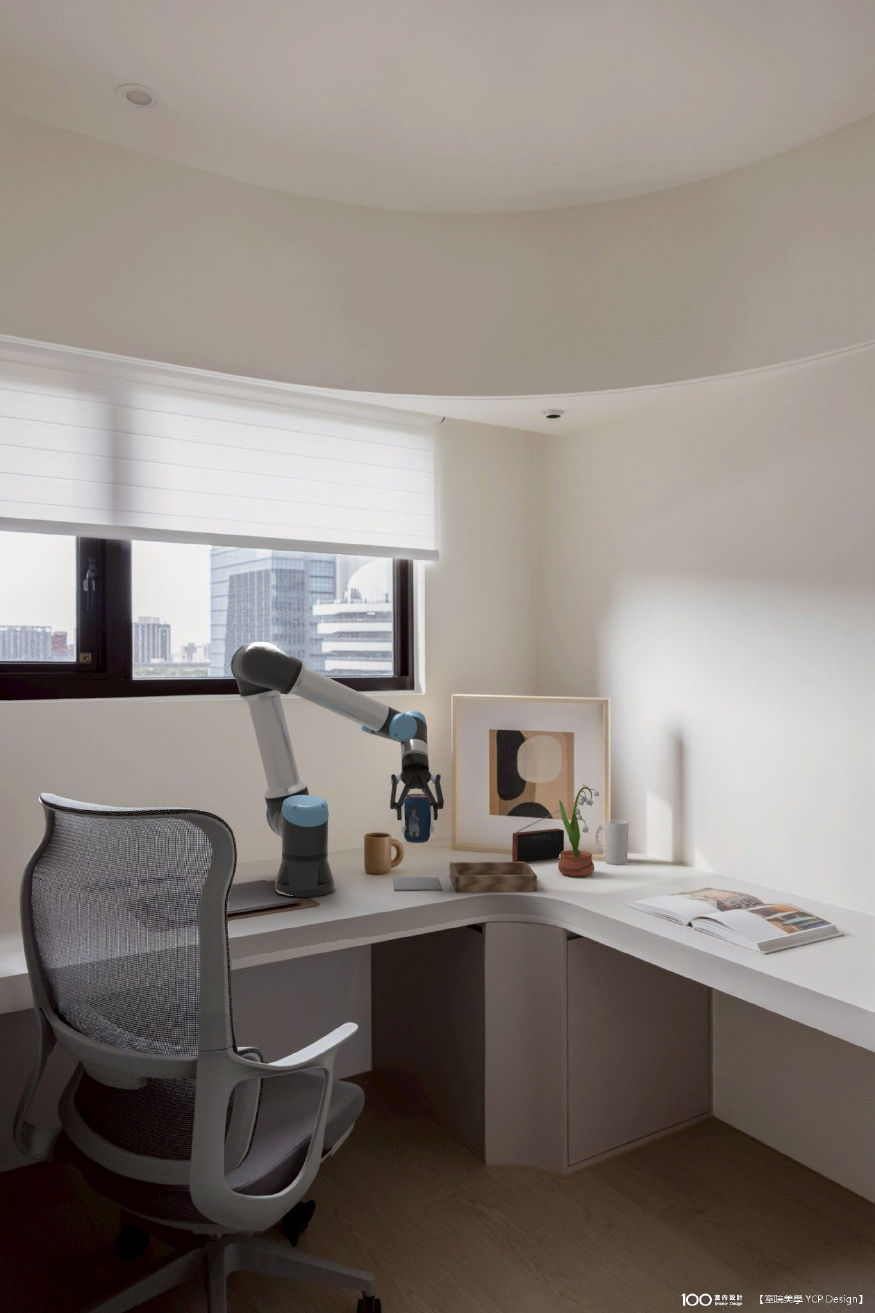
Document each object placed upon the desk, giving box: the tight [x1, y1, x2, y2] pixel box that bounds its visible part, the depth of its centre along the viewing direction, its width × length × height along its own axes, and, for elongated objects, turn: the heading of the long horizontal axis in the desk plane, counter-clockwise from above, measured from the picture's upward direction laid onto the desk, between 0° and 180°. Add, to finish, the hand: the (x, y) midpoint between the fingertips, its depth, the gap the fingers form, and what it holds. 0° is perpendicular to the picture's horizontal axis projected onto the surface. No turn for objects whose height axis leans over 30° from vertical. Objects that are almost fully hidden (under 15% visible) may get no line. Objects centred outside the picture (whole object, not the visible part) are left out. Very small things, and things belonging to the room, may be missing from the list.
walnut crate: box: [449, 861, 538, 893], centre depth 241 cm, size 21×16×4 cm
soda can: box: [403, 793, 431, 844], centre depth 239 cm, size 7×7×12 cm
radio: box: [511, 809, 565, 863], centre depth 270 cm, size 19×3×15 cm, turn 118°
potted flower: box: [557, 784, 600, 878], centre depth 253 cm, size 12×10×25 cm
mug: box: [594, 819, 629, 866], centre depth 268 cm, size 10×7×12 cm, turn 61°
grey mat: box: [392, 876, 442, 892], centre depth 239 cm, size 12×12×1 cm
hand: (418, 829), depth 236 cm, fingers closed on soda can, 7 cm apart
